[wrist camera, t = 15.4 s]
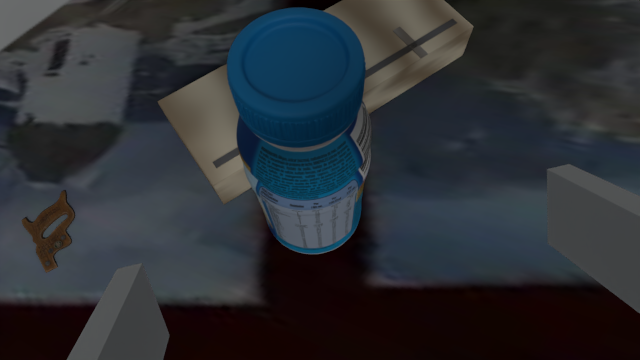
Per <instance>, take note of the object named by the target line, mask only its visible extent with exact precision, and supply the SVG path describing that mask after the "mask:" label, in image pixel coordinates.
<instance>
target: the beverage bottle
mask: <svg viewBox="0 0 640 360" xmlns="http://www.w3.org/2000/svg"><path fill="white" fill-rule="evenodd" d="M365 66H366V62H365V57H364V52H363V48H362V45H361V43H360V40H359V39H358V37H357V35H356V34H355V32H354V31H353V30H352V29H351V28H350V27H349V26H348V25H347V24H346V23H345V22H343V21H342V20H341V19H339V18H337V17H336V16H334V15H332V14H329V13H327V12H324V11H321V10H317V9H311V8H286V9H280V10H276V11H273V12H270V13H267V14H265V15H263V16H261V17H259V18H257V19H255V20H254V21H252V22H251V23H250V24H248V25H247V26H246V27H245V28H244V29H243V30H242V31H241V32H240V33H239V34H238V36H237V37H236V38H235V40H234V42H233V43H232V45H231V48H230V50H229V54H228V58H227V76H228V77H227V79H228V84H229V87H230V90H231V93H232V96H233V99H234V102H235V105H236V106H237V109H238V112H239V118H238V123H237V132H236V138H237V146H238V151H239V154H240V156H241V159H242V161H243V167H244V171H245V174H246V177H247V179H248V181H249V183H250V185H251V187H252V188H253V190H254V191H255V193H256V195H257V197H258V200H259V202H260V204H261V207H262V209H263V212H264V214H265V217H266V220H267V223H268V226H269V228H270V230H271V232H272V233H273V235H274V236H275V237H276V238H277V240H278V241H280V242H281V243H282V244H283V245H284V246H286V247H288V248H289V249H291V250H294V251H296V252H300V253H304V254H320V253H325V252H329V251H331V250H334V249H336V248H337V247H339V246H341V245H342V244H343V243H345V242H346V241H347V240H348V239H349V238H350V236H351V235H352V234H353V232H354V231H355V229H356V227H357V225H358V222H359V219H360V214H361V199H362V192H363V186H364V181H365V179H366V176H367V174H368V170H369V166H370V158H371V149H370V145H371V138H372V128H371V121H370V117H369V114H368V111H367V109H366V106H365V104H364V102H363V101H362V99H363V92H364V83H365V71H366V67H365Z"/></svg>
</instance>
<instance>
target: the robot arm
mask: <svg viewBox="0 0 640 360" xmlns="http://www.w3.org/2000/svg"><path fill="white" fill-rule="evenodd" d="M547 210H548V244H549V245H551V246H552V247H553V248H555V249H556V250H557V251H559V252H560V253H561V254H562V255H564V256H565V257H566V258H568V259H569V260H570V261H572V262H573V263H574V264H576V265H577V266H578V267H580V268H581V269H582V270H584V271H585V272H586V273H587V274H589V275H590V276H591V277H593V278H594V279H595V280H597V281H598V282H599V283H601V284H602V285H603V286H605V287H606V288H607V289H608V290H610V291H611V292H612V293H614V294H615V295H616V296H618V297H619V298H620V299H622V300H623V301H624V302H626V303H627V304H628V305H630V306H631V307H632V308H633V309H635V310H636V311H637V312H639V313H640V196H638V195H636V194H634V193H631V192H629V191H627V190H625V189H623V188H620V187H618V186H616V185H614V184H612V183H609V182H607V181H605V180H603V179H601V178H599V177H596V176H594V175H592V174H590V173H588V172H585V171H583V170H581V169H579V168H577V167H574V166H572V165H570V164H568V165H563V166H559V167H555V168H550V169H547ZM168 339H169V333H168V330H167V327H166V325H165V322H164V319H163V317H162V314H161V311H160V309H159V306H158V303H157V301H156V298H155V295H154V293H153V290H152V287H151V285H150V282H149V279H148V277H147V274H146V271H145V269H144V266H143V263H140V264H136V265H132V266H127V267H123V268H119V269H117V270H116V272H115V274H114V276H113V277H112V279H111V281H110V283H109V285H108V286H107V288H106V290H105V292H104V294H103V295H102V297H101V299H100V301H99V303H98V304H97V306H96V308H95V310H94V312H93V313H92V315H91V317H90V319H89V321H88V322H87V324H86V326H85V328H84V330H83V331H82V333H81V335H80V337H79V339H78V340H77V342H76V344H75V346H74V348H73V349H72V351H71V353H70V355H69V357H68V358H67V360H163V357H164V353H165V350H166V346H167V342H168Z"/></svg>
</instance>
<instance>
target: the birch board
mask: <svg viewBox="0 0 640 360" xmlns="http://www.w3.org/2000/svg"><path fill="white" fill-rule="evenodd" d="M324 12H327V13H329V14H332V15H334V16H336V17H337V18H339V19H341V20H342V21H343V22H345V23H346V24H347V25H348V26H349V27H350V28H351V29H352V30H353V31H354V32H355V34H356V35H357V37H358V39H359V40H360V43H361V45H362V48H363V52H364V57H365V62H366V66H365V67H366V71H365V83H364V92H363V99H362V101H363V102H364V104H365V106H366V109H367V111H368V114H369V113H371V112H373V111H374V110H376V109H377V108H379V107H381V106H382V105H384V104H385V103H387V102H389V101H390V100H392V99H393V98H395V97H397V96H398V95H400V94H401V93H403V92H405V91H406V90H408V89H409V88H411V87H413V86H414V85H416V84H417V83H419V82H421V81H422V80H424V79H425V78H427V77H428V76H430V75H432V74H433V73H435V72H436V71H438V70H440V69H441V68H443V67H444V66H446V65H448V64H449V63H451V62H452V61H454V60H456V59H457V58H459V57H460V56H462V55H463V53H464V50H465V48H466V45H467V42H468V40H469V37H470V34H471V32H472V29H473V27H474V26H473V25H471V24H470V23H469V22H468V21H467V20H466V19H465V18H463V17H462V16H461V15H460V14H459V13H458V12H457V11H456V10H454V9H453V8H452V7H451V6H450V5H449V4H448V3H446V2H445V1H444V0H342V1H340V2H338V3H337V4H335V5H333V6H331V7H329V8H327V9H326V10H324ZM227 77H228V76H227V64H225V65H223V66H222V67H220V68H218V69H216V70H214V71H212V72H211V73H209V74H207V75H205V76H203V77H201V78H200V79H198V80H196V81H194V82H192V83H191V84H189V85H187V86H185V87H183V88H181V89H180V90H178V91H176V92H174V93H172V94H170V95H169V96H167V97H165V98H163V99H161V100H159V101H158V104H159V105H160V107H161V108H162V110H163V112H164V113H165V115H166V117H167V118H168V120H169V122H170V123H171V125H172V127H173V128H174V130H175V131H176V133H177V134H178V136H179V137H180V139H181V140H182V142H183V143H184V145H185V146H186V148H187V149H188V151H189V152H190V154H191V155H192V157H193V158H194V160H195V161H196V163H197V164H198V166H199V167H200V169H201V170H202V172H203V174H204V175H205V177H206V178H207V180H208V181H209V183H210V184H211V186H212V187H213V189H214V190H215V192H216V193H217V195H218V196H219V198H220V199H221V201H222V202H223V204H226V203H227V202H229V201H230V200H232V199H234V198H235V197H237V196H238V195H240V194H242V193H243V192H245V191H246V190H248V189H250V188H251V185H250V183H249V181H248V179H247V177H246V174H245V171H244V167H243V161H242V159H241V156H240V154H239V151H238V146H237V138H236V132H237V123H238V118H239V112H238V109H237V106H236V105H235V102H234V99H233V96H232V93H231V90H230V87H229V84H228V79H227Z"/></svg>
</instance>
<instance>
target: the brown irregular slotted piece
mask: <svg viewBox="0 0 640 360" xmlns="http://www.w3.org/2000/svg"><path fill="white" fill-rule="evenodd" d="M65 214H67V215H68V217H67V219H66V220H64V221H63V222H62V223H61V224H60V225H59V226H58V227H57V228H56V229H55V230H54V231H53V232H52V234H51V235H50V236H49V237H48V238H46V239H45V238H43V233H44V231H45V230H46V229H47V228H48V227H49V226H50V225H51V224H52V223H53V222H54V221H55V220H56V219H58V218H59V217H61V216H62V215H65ZM74 218H75V213H74V211H73V210H72V208H71V207H70V206H69V205H68V204H67V195H66V191H65V190H64V191H62V192H61V194H60V198H59V200H58V201H57V202H56V203H55V204H54V205H52V206H51V207H49V208H47V209H46V210H44V211H43V212H42V213H41V214H40V215H39V216H38V217H37V219H36V220H35V221H34V222H33V223H31V222H29V221H28V219H27V218H24V219H23V220H22V224H23V226H24V227H25V228H26V230H27V231H28V232H29V233H30V234H31V235H32V237H33V242H34V243H36V245H37V246H36V253H37V255H38V257H39V259H40V262H41V264H42V266H43V268H44V270H45V271H46V273H47V272H49V271H51V270H53V269H55V268H57V267H58V266H57V264H56V262H55V260H54V255H55V254H56V252H57V251H59V250H61V249H63V248H65V247H67V246H69V245H70V244H71V243H72V240H71V238H70V237H69V236H68V234H67V232H66V229H67V228H68V227H69V225H70V224H71V223H72V221H73V220H74Z"/></svg>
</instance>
